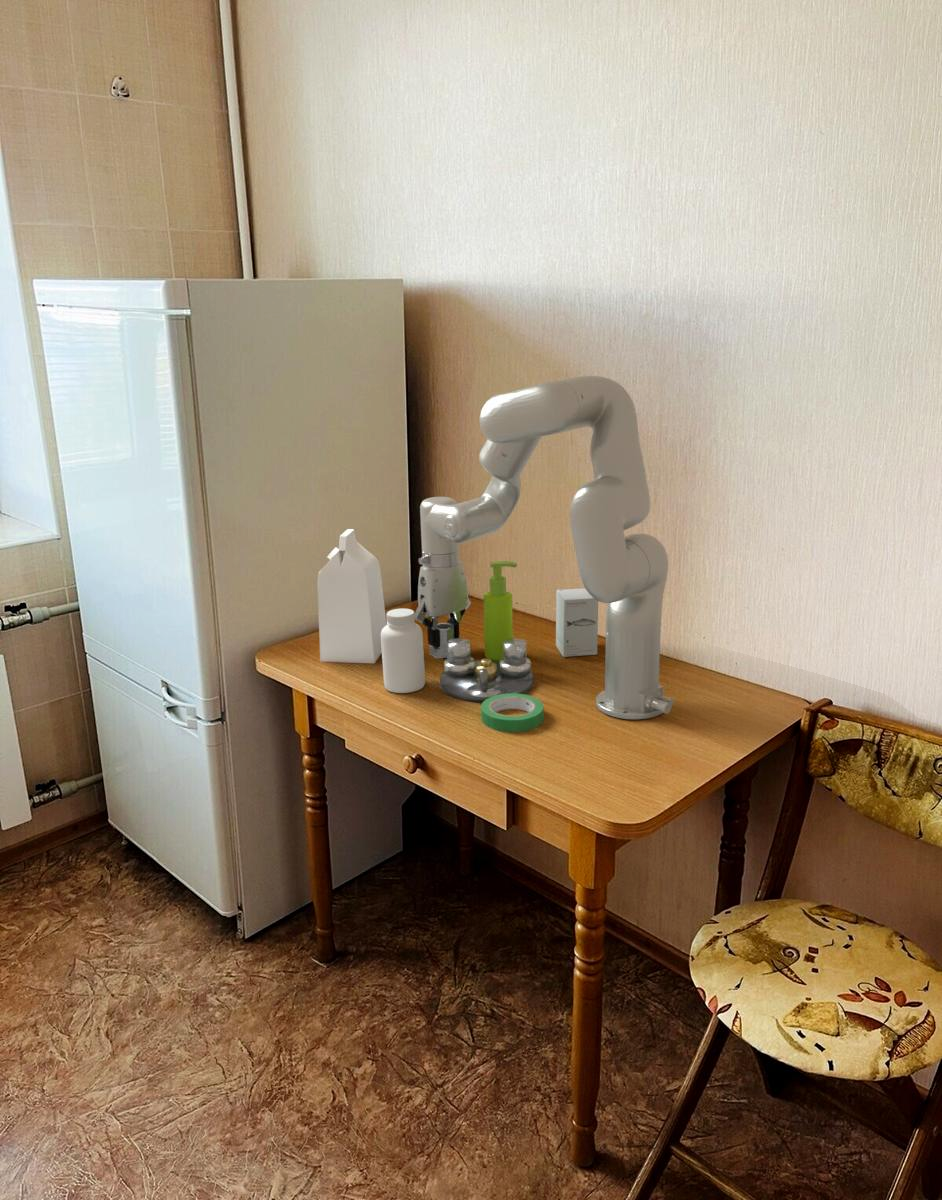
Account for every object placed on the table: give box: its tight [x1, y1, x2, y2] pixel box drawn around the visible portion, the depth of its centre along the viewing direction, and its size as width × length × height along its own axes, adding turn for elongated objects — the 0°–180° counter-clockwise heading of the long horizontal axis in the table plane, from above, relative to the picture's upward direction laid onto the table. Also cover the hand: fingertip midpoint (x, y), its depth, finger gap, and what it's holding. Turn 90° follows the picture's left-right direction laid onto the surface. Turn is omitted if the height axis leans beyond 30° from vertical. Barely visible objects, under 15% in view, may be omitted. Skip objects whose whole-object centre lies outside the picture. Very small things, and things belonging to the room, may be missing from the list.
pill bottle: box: [381, 608, 426, 694], centre depth 181 cm, size 8×8×15 cm
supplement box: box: [555, 587, 599, 658], centre depth 197 cm, size 7×7×13 cm
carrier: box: [439, 637, 534, 703], centre depth 183 cm, size 18×18×7 cm
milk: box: [316, 528, 387, 664], centre depth 198 cm, size 12×12×26 cm
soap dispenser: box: [483, 560, 518, 660], centre depth 195 cm, size 6×7×20 cm
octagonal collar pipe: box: [429, 622, 455, 659], centre depth 199 cm, size 6×6×6 cm
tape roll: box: [480, 693, 545, 733], centre depth 168 cm, size 11×11×3 cm
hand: (443, 642), depth 199 cm, fingers closed on octagonal collar pipe, 4 cm apart
